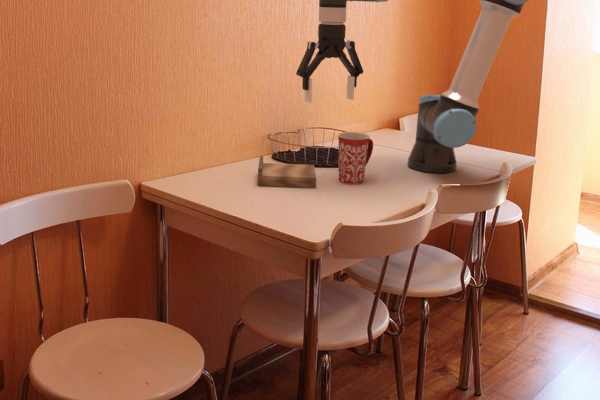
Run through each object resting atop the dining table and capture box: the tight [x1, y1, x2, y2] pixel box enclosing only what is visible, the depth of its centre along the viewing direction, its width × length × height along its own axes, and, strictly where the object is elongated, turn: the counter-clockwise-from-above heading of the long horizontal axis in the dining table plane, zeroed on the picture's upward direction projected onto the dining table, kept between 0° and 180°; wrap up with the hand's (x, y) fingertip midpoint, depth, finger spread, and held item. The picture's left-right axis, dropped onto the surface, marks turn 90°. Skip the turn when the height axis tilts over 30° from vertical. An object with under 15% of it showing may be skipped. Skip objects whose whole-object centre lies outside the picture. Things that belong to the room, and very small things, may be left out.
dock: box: [257, 155, 317, 189], centre depth 200 cm, size 16×14×5 cm
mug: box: [337, 131, 374, 185], centre depth 202 cm, size 13×9×14 cm
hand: (329, 100), depth 199 cm, fingers open, 13 cm apart
